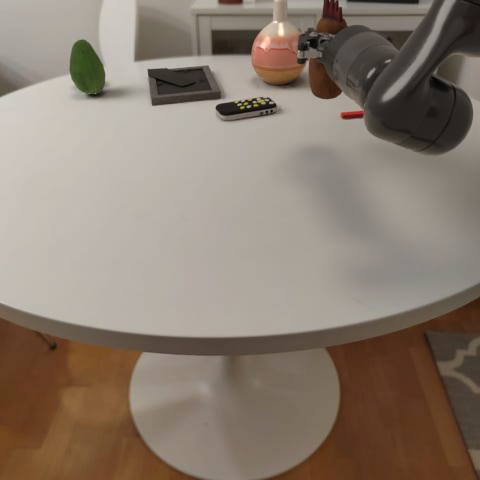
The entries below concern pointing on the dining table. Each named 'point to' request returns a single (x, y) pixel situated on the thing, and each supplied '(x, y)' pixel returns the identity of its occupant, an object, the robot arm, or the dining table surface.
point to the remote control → (245, 108)
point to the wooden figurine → (317, 72)
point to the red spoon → (352, 114)
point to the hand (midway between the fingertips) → (325, 33)
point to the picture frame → (182, 85)
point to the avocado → (86, 68)
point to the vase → (277, 49)
